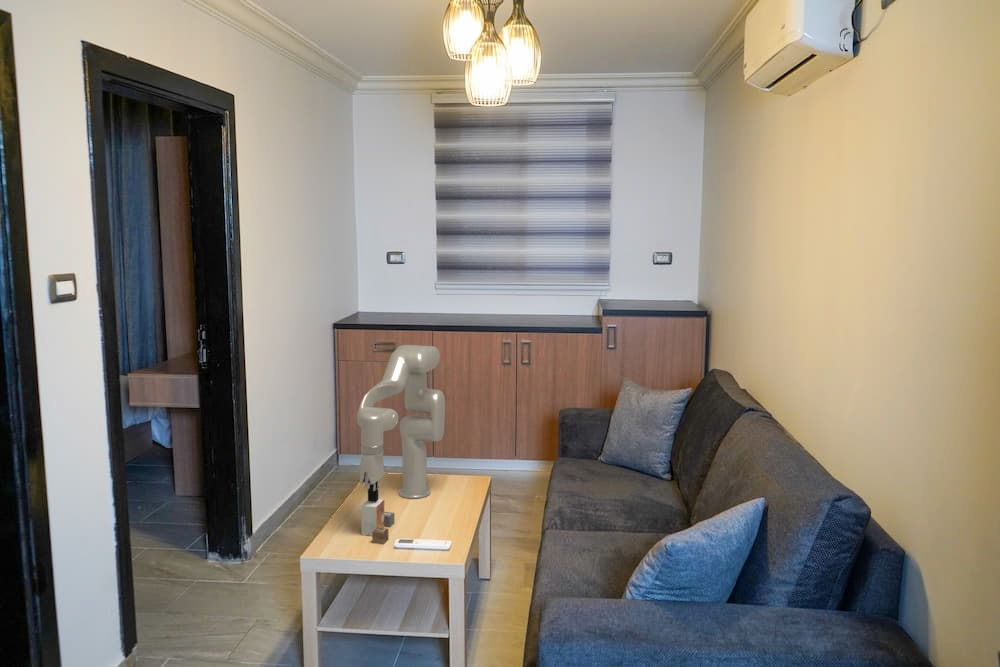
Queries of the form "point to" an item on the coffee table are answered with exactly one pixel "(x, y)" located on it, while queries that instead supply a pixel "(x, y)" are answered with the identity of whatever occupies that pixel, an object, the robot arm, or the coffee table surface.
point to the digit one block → (388, 519)
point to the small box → (372, 516)
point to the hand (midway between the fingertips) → (373, 500)
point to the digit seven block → (380, 536)
